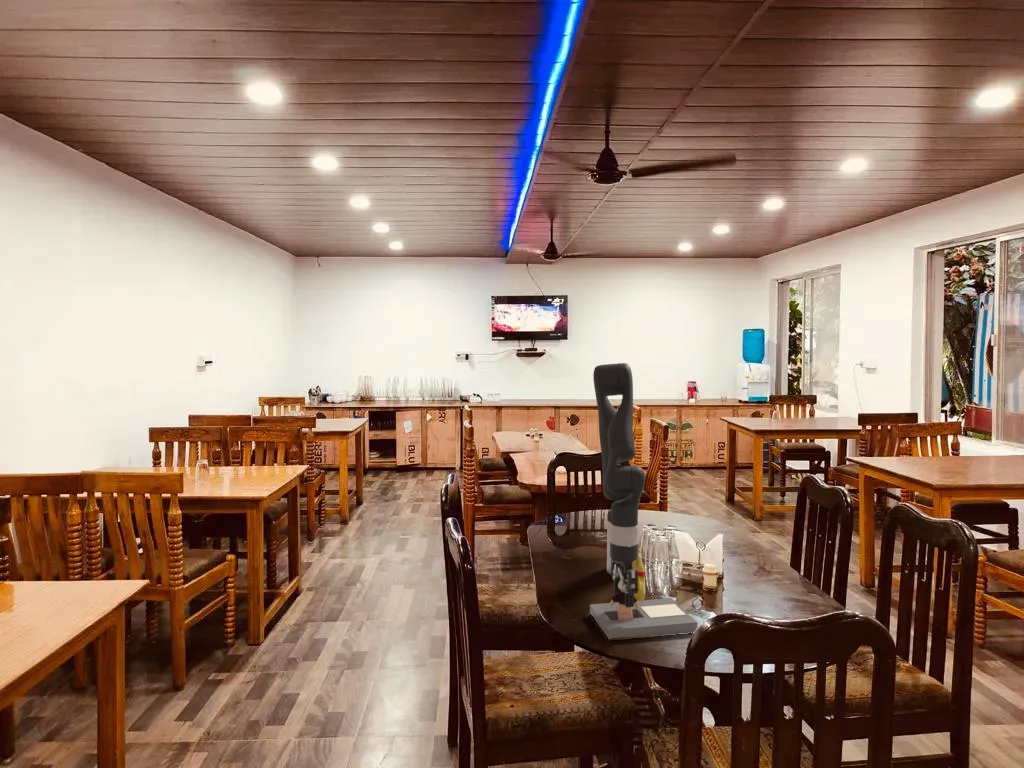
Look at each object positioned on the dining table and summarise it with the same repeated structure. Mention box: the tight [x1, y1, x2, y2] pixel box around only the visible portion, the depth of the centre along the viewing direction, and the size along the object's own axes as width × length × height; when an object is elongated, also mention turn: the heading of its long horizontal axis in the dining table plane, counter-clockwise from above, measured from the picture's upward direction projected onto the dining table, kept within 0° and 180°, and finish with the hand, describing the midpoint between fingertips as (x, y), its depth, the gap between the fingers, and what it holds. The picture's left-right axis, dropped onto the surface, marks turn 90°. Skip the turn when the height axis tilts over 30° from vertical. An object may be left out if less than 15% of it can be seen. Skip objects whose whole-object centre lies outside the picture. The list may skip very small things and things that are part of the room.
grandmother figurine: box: [609, 580, 639, 620], centre depth 171 cm, size 8×4×13 cm, turn 92°
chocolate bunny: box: [632, 547, 646, 601], centre depth 192 cm, size 7×11×15 cm, turn 175°
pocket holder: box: [589, 597, 698, 639], centre depth 172 cm, size 16×24×3 cm, turn 100°
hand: (623, 600), depth 171 cm, fingers open, 8 cm apart
